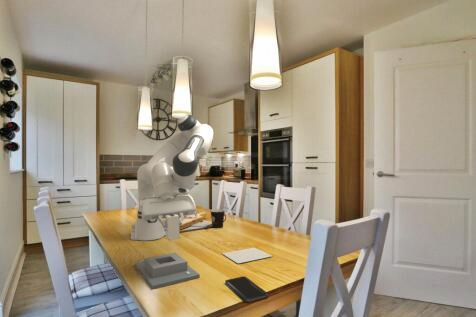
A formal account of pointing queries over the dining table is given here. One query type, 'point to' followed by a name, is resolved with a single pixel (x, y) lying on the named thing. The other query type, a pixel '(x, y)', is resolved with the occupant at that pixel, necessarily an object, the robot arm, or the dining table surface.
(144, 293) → the dining table surface
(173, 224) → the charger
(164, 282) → the power dock
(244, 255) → the paper stack
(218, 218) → the coffee mug
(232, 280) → the phone
